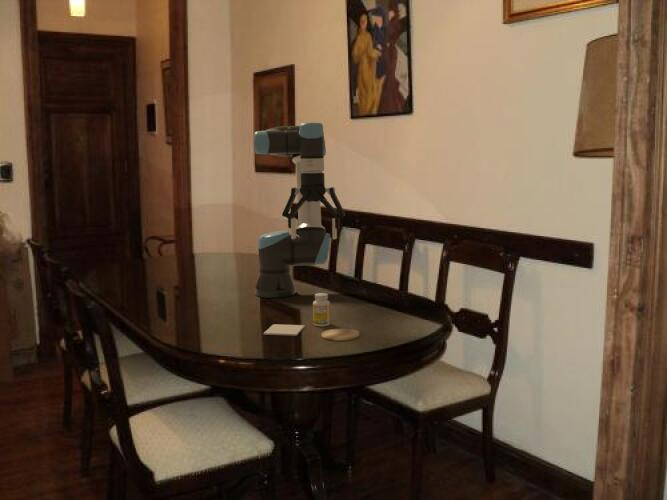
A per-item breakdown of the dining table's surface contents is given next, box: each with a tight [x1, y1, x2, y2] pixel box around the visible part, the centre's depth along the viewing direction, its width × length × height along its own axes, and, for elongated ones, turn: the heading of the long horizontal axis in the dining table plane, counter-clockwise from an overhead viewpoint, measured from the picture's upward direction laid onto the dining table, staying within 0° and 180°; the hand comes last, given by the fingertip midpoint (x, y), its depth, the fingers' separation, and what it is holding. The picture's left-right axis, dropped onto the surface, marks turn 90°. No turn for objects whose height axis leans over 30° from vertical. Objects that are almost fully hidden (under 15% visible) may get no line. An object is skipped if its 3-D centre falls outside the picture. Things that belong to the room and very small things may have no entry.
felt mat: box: [263, 323, 306, 337], centre depth 208 cm, size 10×10×1 cm
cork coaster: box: [321, 328, 360, 342], centre depth 202 cm, size 11×11×1 cm
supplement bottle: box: [312, 292, 331, 328], centre depth 214 cm, size 5×5×10 cm
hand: (314, 238), depth 222 cm, fingers open, 13 cm apart
